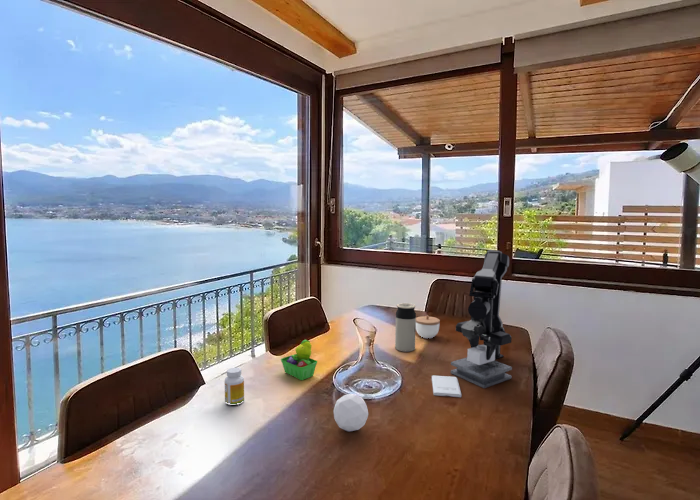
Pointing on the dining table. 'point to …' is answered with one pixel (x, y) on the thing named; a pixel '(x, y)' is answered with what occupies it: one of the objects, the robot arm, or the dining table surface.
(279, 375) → the dining table surface
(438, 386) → the external hard drive
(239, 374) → the supplement bottle
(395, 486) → the dining table surface
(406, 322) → the travel mug
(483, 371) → the stand
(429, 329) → the lidded jar
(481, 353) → the block
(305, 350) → the fruit basket
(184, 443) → the dining table surface
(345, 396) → the white low-poly ball
